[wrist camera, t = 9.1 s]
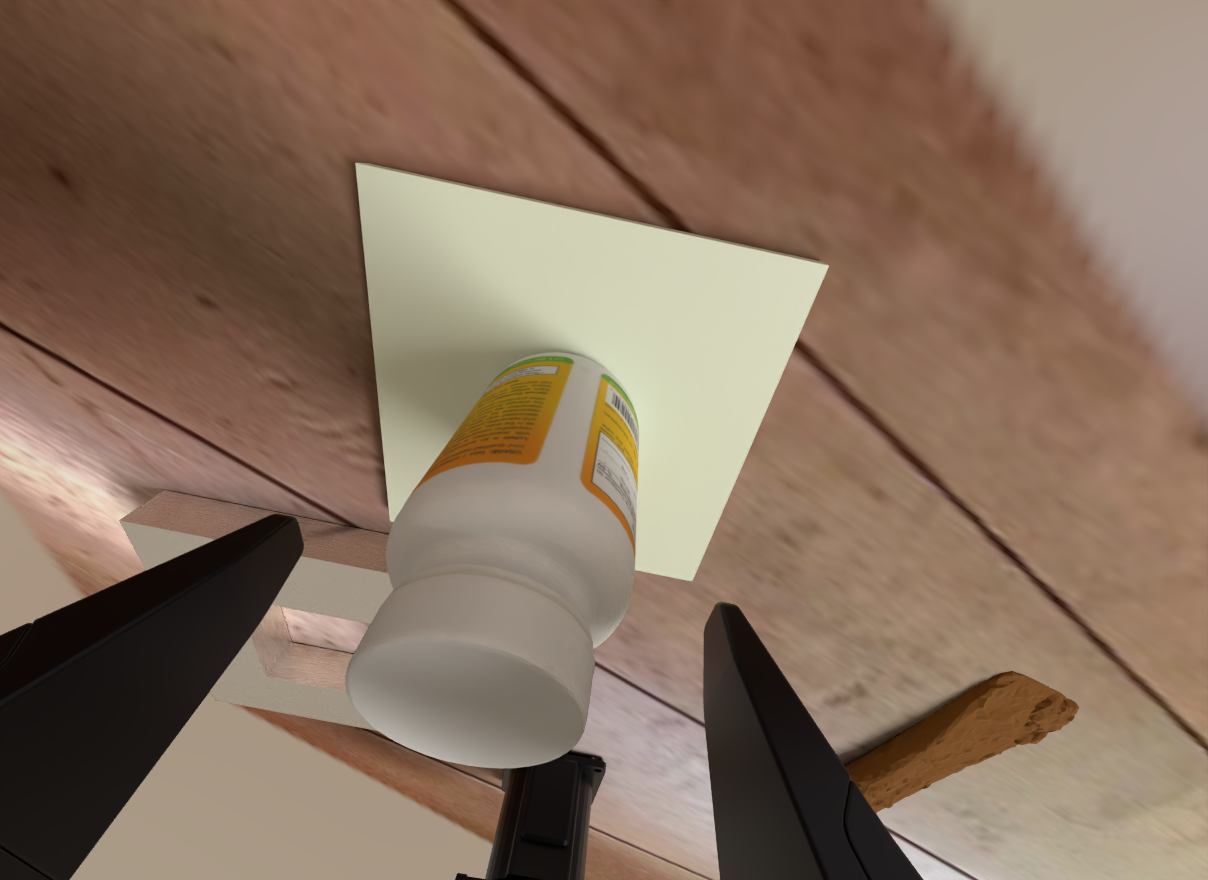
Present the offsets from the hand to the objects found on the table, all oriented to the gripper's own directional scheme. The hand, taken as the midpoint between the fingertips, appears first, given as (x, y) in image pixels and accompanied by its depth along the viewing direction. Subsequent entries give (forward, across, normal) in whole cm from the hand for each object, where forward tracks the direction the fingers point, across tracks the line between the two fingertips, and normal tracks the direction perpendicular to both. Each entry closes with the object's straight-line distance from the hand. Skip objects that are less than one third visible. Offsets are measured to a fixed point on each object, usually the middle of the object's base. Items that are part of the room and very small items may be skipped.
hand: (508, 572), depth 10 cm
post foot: (+8, +10, +15) cm, 20 cm away
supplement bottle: (+7, 0, 0) cm, 7 cm away
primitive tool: (+8, -22, +18) cm, 30 cm away
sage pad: (+8, 0, 0) cm, 8 cm away
